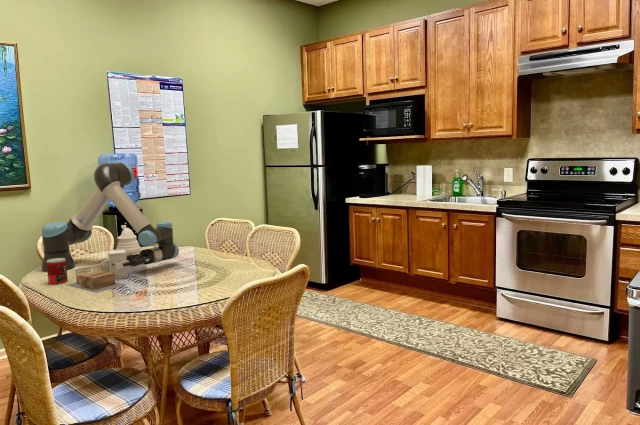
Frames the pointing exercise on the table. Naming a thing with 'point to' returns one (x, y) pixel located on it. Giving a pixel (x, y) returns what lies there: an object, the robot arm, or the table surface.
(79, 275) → the maple cube
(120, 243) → the honey pot
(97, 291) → the slate mat
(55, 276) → the canned food
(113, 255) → the supplement box
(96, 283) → the walnut block
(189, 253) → the table surface
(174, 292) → the table surface
